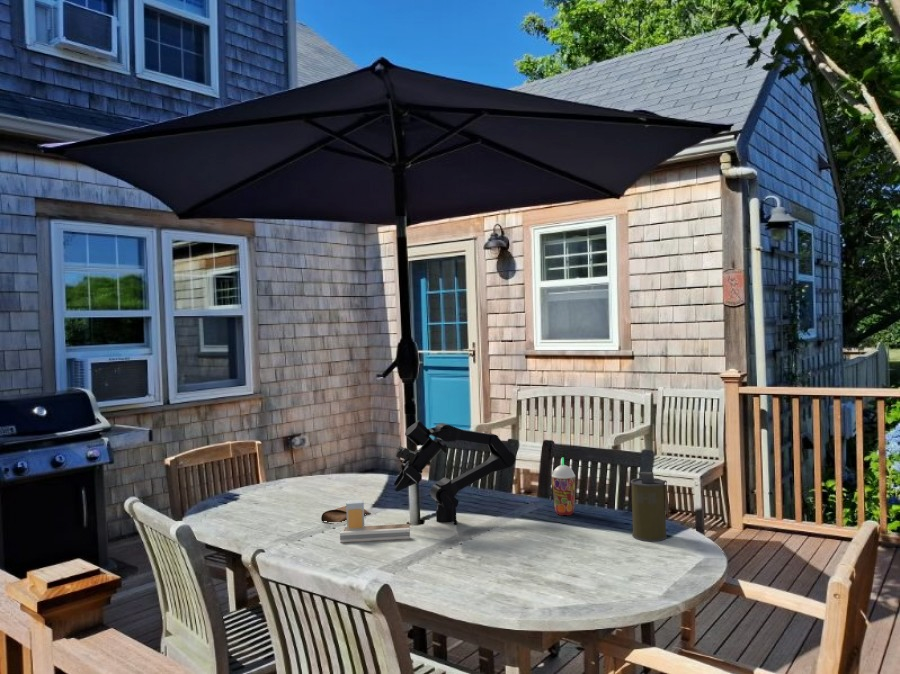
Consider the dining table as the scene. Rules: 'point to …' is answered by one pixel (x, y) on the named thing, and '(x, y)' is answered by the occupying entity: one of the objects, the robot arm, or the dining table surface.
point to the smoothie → (563, 489)
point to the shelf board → (382, 528)
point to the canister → (649, 507)
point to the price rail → (375, 535)
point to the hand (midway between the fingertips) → (395, 487)
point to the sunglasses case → (337, 515)
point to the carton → (355, 515)
